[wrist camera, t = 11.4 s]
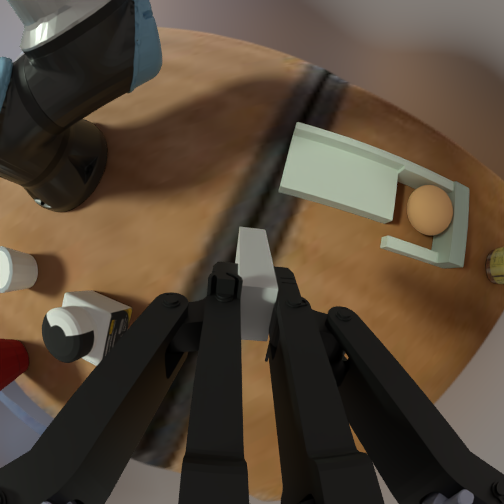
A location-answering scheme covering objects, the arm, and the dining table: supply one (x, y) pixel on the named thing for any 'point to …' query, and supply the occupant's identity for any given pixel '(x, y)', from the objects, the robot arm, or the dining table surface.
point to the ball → (429, 210)
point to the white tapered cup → (16, 270)
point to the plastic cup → (12, 361)
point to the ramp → (371, 188)
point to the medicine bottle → (85, 326)
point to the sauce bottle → (495, 266)
